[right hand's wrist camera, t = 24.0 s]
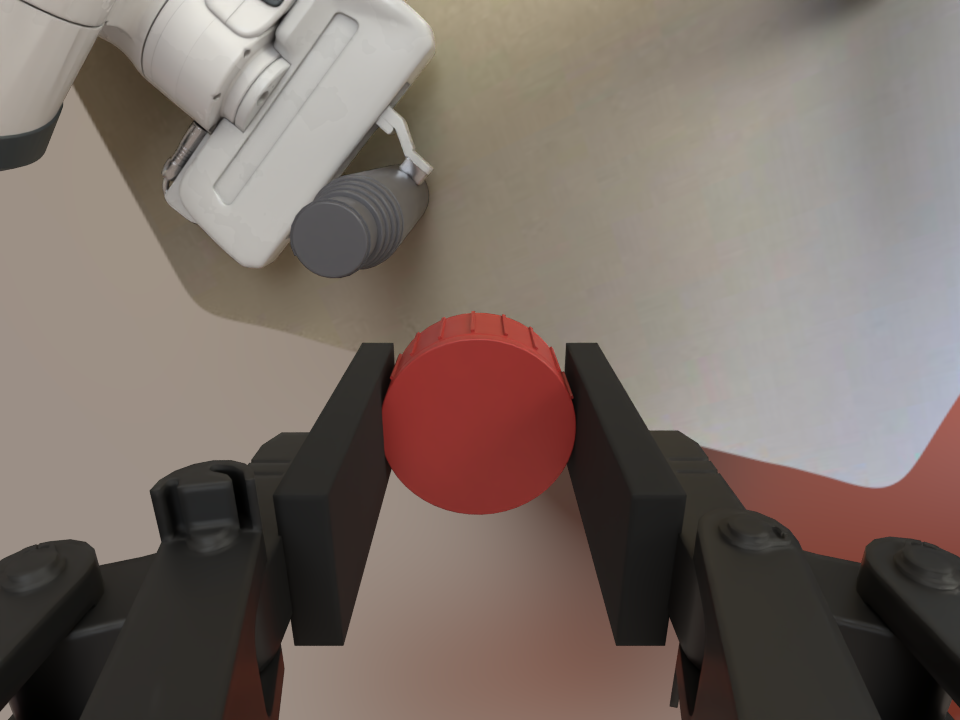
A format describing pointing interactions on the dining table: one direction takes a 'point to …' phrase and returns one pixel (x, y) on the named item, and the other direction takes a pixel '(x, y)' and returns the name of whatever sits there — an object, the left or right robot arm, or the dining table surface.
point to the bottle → (357, 221)
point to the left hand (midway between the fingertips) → (399, 210)
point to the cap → (478, 415)
